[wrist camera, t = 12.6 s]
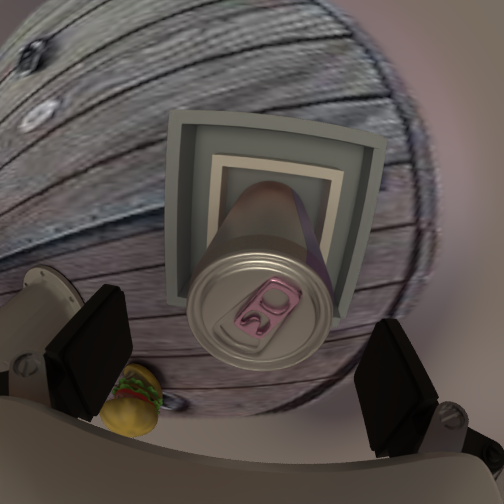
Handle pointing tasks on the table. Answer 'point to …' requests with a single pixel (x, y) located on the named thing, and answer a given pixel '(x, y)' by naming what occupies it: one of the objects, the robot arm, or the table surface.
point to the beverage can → (262, 284)
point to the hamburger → (133, 403)
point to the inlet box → (269, 169)
